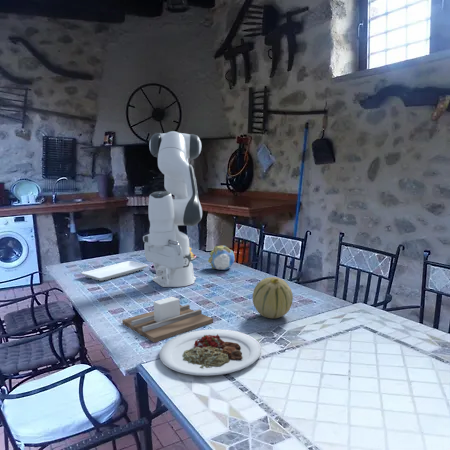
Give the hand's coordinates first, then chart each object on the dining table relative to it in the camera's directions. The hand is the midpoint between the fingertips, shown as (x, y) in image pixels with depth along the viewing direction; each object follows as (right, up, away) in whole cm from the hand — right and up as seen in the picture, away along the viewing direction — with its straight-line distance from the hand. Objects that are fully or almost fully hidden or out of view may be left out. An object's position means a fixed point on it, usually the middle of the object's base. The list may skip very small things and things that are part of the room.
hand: (164, 277), depth 148 cm
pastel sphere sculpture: (-9, -3, +105) cm, 105 cm away
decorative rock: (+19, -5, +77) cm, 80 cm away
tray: (-36, -8, +74) cm, 83 cm away
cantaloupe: (+38, -15, +5) cm, 42 cm away
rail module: (+1, -15, +2) cm, 16 cm away
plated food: (+17, -21, -23) cm, 35 cm away
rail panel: (+1, -17, +2) cm, 17 cm away
